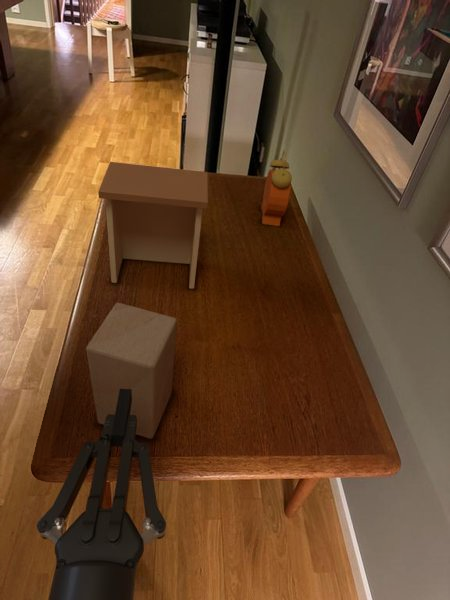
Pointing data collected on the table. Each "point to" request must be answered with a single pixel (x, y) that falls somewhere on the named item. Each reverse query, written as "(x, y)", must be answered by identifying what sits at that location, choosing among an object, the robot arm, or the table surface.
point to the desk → (153, 214)
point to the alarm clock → (276, 192)
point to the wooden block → (133, 364)
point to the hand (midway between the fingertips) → (125, 394)
